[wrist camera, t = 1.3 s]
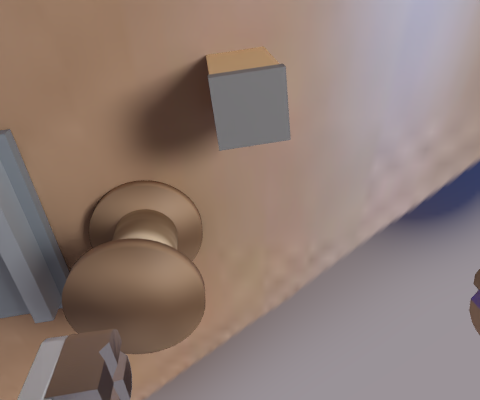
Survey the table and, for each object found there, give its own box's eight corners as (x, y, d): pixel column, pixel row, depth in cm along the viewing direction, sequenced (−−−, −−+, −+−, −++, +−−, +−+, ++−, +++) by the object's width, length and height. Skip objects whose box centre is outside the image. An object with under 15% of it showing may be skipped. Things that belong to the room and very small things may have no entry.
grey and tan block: (204, 53, 29) (207, 78, 22) (264, 45, 29) (285, 66, 22) (213, 113, 31) (219, 150, 24) (270, 104, 31) (290, 139, 24)
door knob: (76, 190, 32) (40, 261, 25) (191, 172, 33) (192, 236, 25) (108, 279, 37) (86, 363, 29) (209, 263, 37) (214, 342, 29)
